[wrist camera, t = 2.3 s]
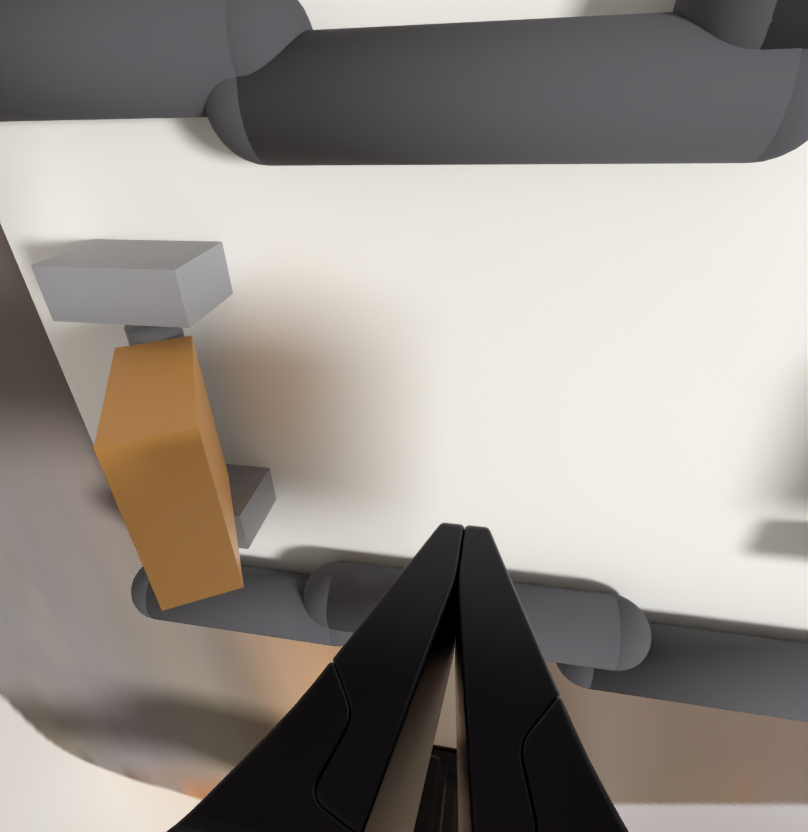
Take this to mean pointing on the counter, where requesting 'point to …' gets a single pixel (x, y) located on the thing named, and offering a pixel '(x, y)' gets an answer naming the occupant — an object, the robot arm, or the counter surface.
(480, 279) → the white tray
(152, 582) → the orange brick
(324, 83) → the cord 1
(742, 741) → the counter surface
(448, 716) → the counter surface
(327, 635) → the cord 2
